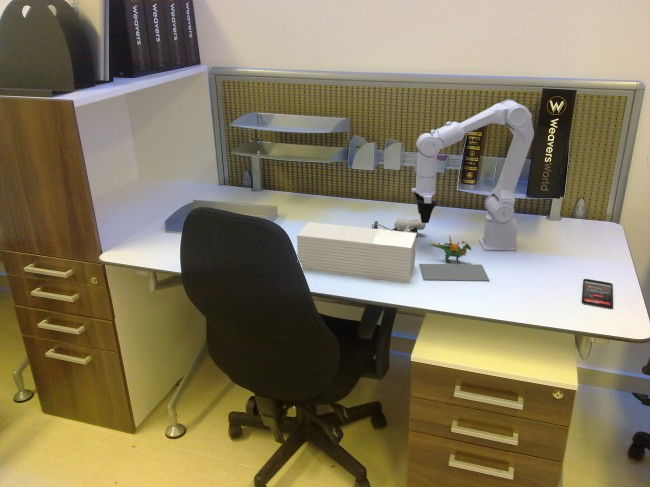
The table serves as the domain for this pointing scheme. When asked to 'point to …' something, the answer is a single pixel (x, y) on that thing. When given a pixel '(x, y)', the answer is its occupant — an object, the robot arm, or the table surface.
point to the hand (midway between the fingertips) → (423, 217)
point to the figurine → (453, 249)
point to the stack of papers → (357, 251)
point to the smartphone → (597, 294)
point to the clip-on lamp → (405, 225)
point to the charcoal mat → (453, 272)
